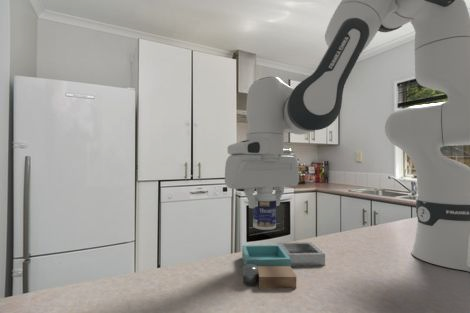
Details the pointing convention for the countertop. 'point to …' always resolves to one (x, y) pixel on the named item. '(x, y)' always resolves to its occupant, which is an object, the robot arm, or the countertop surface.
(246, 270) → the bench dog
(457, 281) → the countertop surface
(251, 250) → the tray
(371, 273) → the countertop surface
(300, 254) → the collar
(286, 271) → the tan cardboard-like brick
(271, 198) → the pill bottle
